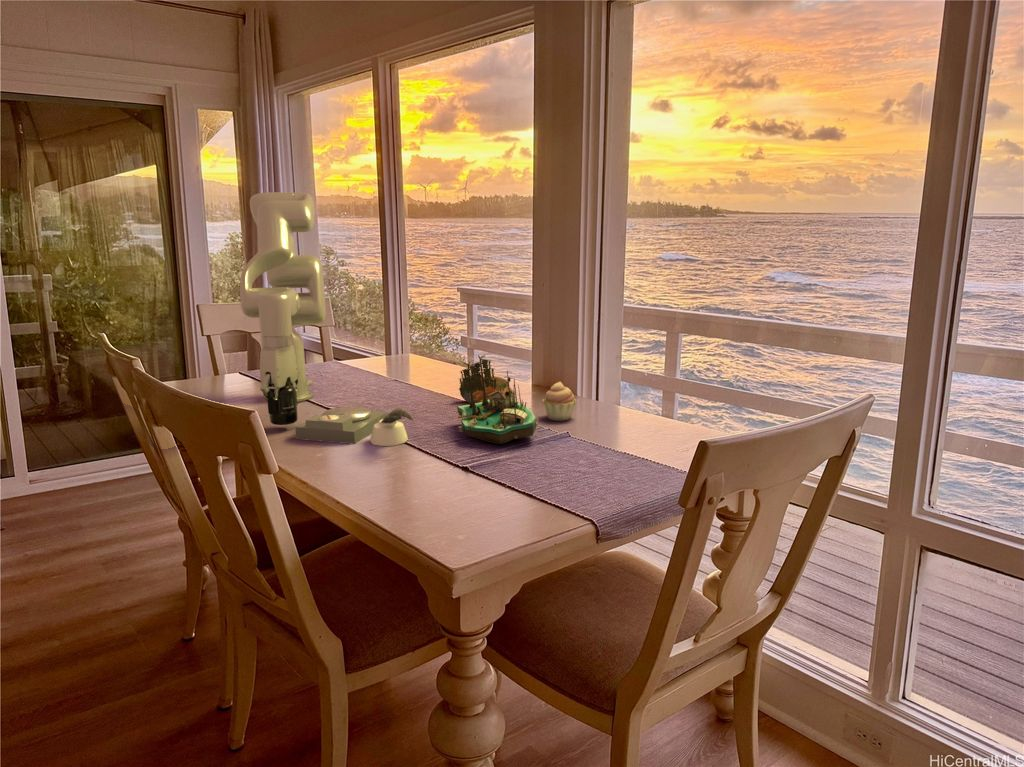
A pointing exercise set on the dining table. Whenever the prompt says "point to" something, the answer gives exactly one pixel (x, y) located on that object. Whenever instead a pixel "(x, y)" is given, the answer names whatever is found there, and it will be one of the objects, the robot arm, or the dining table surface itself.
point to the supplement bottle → (286, 405)
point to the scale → (337, 428)
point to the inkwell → (390, 429)
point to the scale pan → (350, 412)
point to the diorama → (493, 408)
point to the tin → (479, 394)
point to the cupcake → (559, 402)
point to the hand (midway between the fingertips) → (283, 409)
